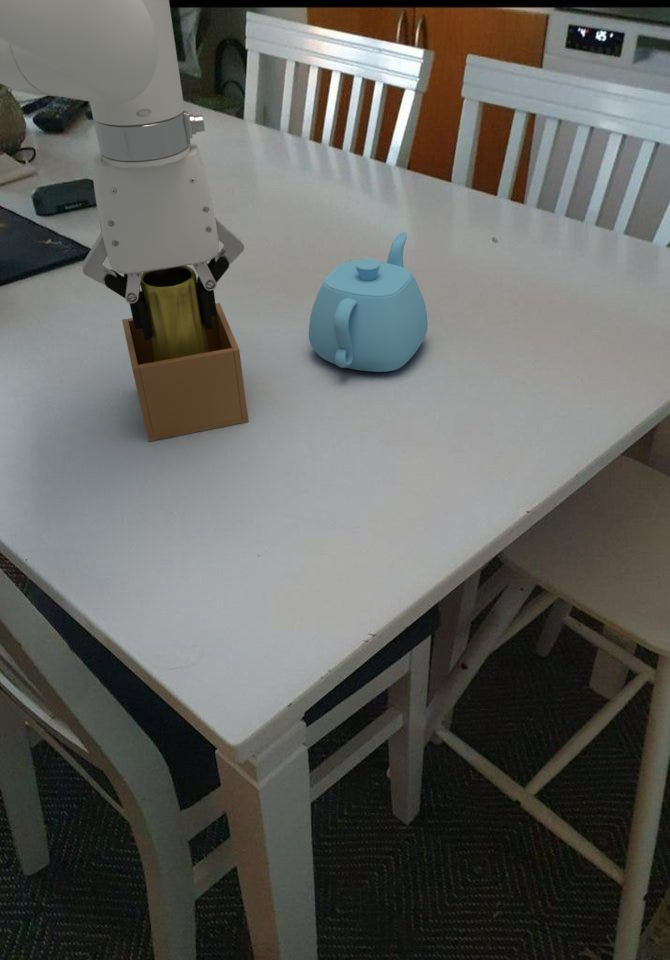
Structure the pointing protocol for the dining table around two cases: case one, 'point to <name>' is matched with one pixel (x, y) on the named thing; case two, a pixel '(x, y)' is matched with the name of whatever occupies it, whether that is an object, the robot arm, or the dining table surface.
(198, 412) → the package
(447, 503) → the dining table surface
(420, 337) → the teapot
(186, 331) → the vase
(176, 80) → the robot arm
